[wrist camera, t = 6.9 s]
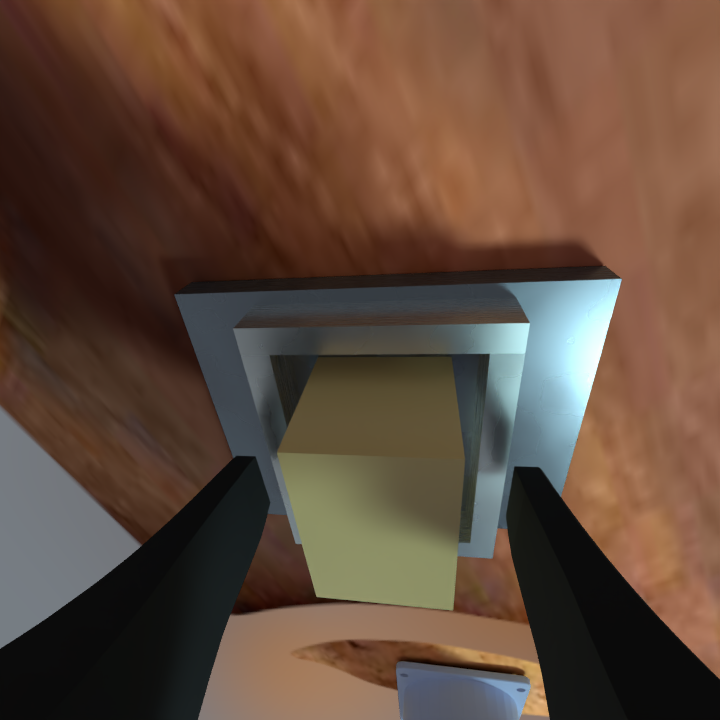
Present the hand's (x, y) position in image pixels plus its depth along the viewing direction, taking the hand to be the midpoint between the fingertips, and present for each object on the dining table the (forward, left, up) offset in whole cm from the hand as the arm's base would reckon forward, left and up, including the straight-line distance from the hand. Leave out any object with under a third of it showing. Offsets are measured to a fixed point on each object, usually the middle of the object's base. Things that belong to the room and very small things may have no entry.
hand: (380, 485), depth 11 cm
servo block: (0, 0, -2) cm, 2 cm away
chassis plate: (0, 0, -3) cm, 3 cm away
